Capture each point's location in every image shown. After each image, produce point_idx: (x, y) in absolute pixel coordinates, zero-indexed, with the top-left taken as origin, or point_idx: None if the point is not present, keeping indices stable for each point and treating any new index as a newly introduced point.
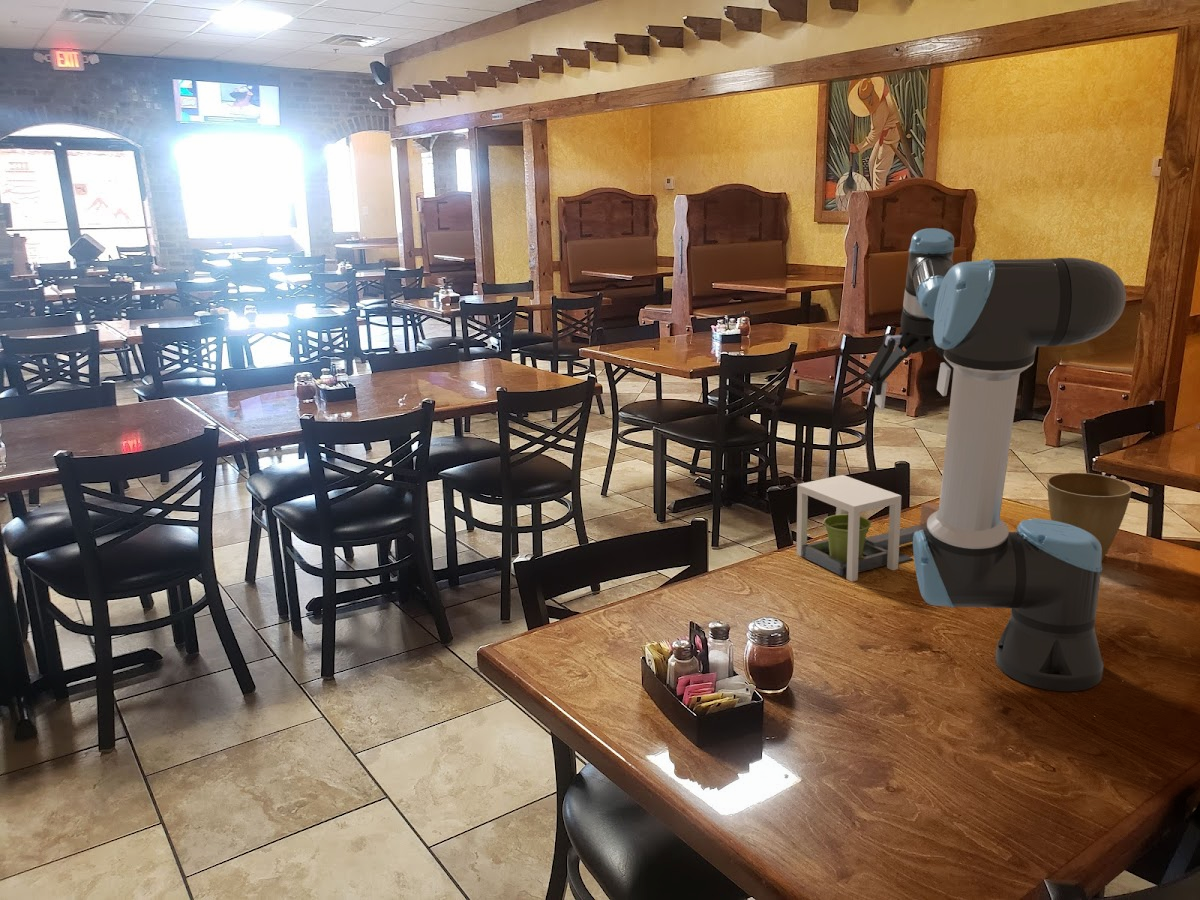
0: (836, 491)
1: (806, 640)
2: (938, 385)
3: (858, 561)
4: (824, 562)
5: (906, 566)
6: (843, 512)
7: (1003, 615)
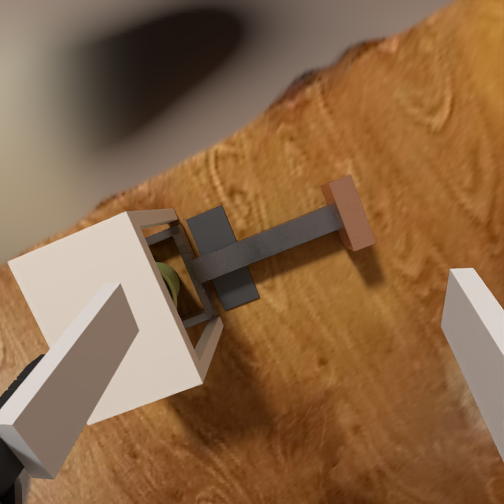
0: None
1: (46, 496)
2: (460, 301)
3: None
4: None
5: (239, 318)
6: (153, 225)
7: (294, 482)
